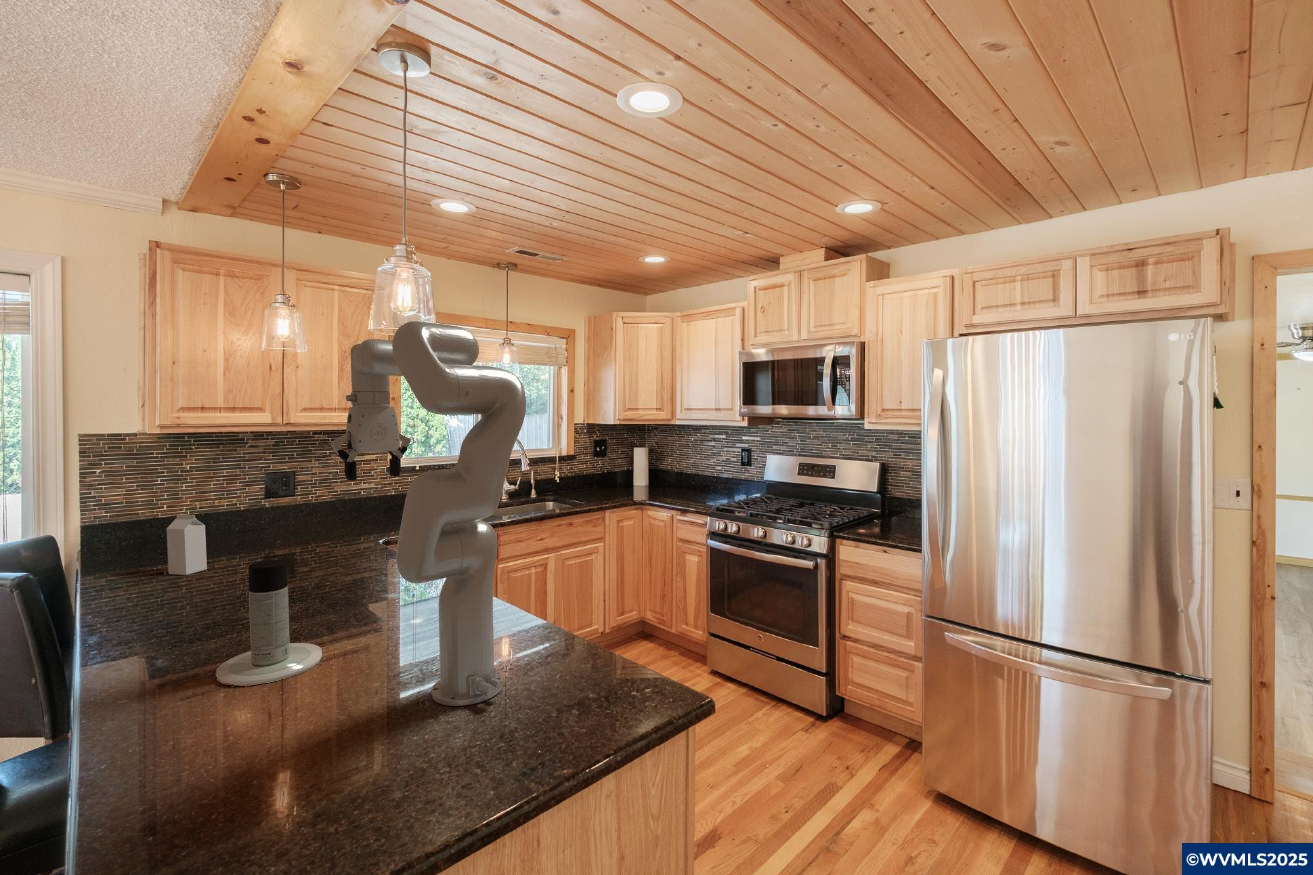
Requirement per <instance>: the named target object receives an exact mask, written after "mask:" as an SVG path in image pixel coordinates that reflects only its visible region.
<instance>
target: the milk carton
mask: <svg viewBox="0 0 1313 875" xmlns="http://www.w3.org/2000/svg"><path fill="white" fill-rule="evenodd" d="M206 538H207V536H206V525H205V524H204V523H203V522H201V521H200V520H198V519H197V518H196V515H195V514H176V518H175V519H174V520H173V521H172V522H171V523H170V525H168V527H167V528H166V543H167V544H166V546H167V547H166V548H167V569H168V574H169V575H178V576H179V575H181V576H187V575H191V574H194V573H198V572H201V571H206V570H207V569H208V566H207V565H208V564H207V563H208V562H207V542H206V541H207V539H206Z"/></svg>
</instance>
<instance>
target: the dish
mask: <svg viewBox="0 0 1313 875" xmlns="http://www.w3.org/2000/svg"><path fill="white" fill-rule="evenodd" d="M321 658H323V650H322V648H321V647H320V646H318V645H317V644H313V643H306V642H295V643H294V642H293V643H292V642H290V654H289V657H288V659H286V660H284V661H282V662H279V663H277V664H273V665H269V666H254V665H252V662H251V650H249V651H247V652H243V653H241V654H238V655H236V656H234V657H231V658H230V659H228V660H226V661H224V662H223V663H221V664H220V665H219V666H218V667H217V669H216V671H215V677H217V679H218V680H219V681H222V682H224V683H229V684H233V685H255V684H260V683H268V684H271V683H270V682H273V683H275V682H274V681H277V682H279V681H278V680H281V679H284V680H287V679H286V678H288V677H291V678H293V677H292V676H294V677H295V675H296V676H298V674H299V675H301V674H303V673H306V672H307V671H309V670H312V669H313V668H314V667H316V666H317V665H319V663H320V662H321V661H322V659H321ZM320 660H321V661H320ZM316 664H317V665H316ZM305 671H306V672H305ZM288 679H289V678H288ZM281 681H282V680H281Z"/></svg>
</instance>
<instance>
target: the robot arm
mask: <svg viewBox="0 0 1313 875" xmlns="http://www.w3.org/2000/svg"><path fill="white" fill-rule="evenodd" d="M393 335H394V336H393V338H392V340H391V339H379V338H369V339H365V340H363V341H362V342H361V343H356V344H354V345H352V346H351V348H350V376H351V392H350V394H346V395H345V400H346V402H350V403H351V404H350V405H351V406H349V408H348V413H347V419H346V429H345V433H344V434H343V435H340V436H339V437H337V438H335V439H334V440H332V441H330V446H331V448H332V450H333V451H334V454H335V455H336V456H338V458H340V460H341V461H342V462H343V464H344V476H345V477H346V480H347V481H356V480H357V479H358V478H357V477H358V476H357V473H358V472H357V462H356V461H354V460H355V459H356V457H357V456H358V455H359V454H360V453H378V452H379V453H380V452H387V453H388V455H389V456H390V458H389V460H388V463H389V464H388V467H389V475H390V476H391V477H400V476H401V468H402V467H401V465H402V464H401V463H402V462H401V459H402V458H403V456H404V455H405V453H406V452H407V451H408V448H409V445H410V444H411V441H412V440H411V438H410V437H408V436H406V435H403V434H402V433H400V431H399V424H398V423H399V422H398V417H397V412H396V408H395V406H391V398H390V397H391V393H390V390H391V389H390V376H391V377H404V380H405V381H406V382H407V385H408V386H409V388H410V390H411V392H412V393H413V395H414V396H415V398H416V400H417V401H418V403H419V404H420V406H421V408H423V409H424V410H426V411H427V412H429V413H431V414H433V415H435V414H436V415H441V416H443V415H444V416H447V415H448V416H451V415H453V416H455V415H457V416H459V415H461V416H462V415H464V416H465V415H481V418H480V419H479V420H478V422H476V423H475V424H474V425H473V426H472V427H471V429H469V431H468V432H467V433H466V436H464V438H463V440H462V441H461V446H460V450H459V456H458V459H457V462H456V463H455V464H456V465H455V466H453V467H452V468H446V469H435V470H430V471H425V472H423V473H420V474H419V475H417V476H416V477H415V478H414V479H413V480H412V482H411V483H410V484H409V487H408V490H407V491H406V492H407V493H406V497H405V501H404V505H403V511H402V517H401V521H400V522H401V523H400V528H399V533H398V537H397V538H398V539H397V544H396V553H395V554H396V555H395V556H396V559H395V560H396V567H397V571H398V573H399V574H400V577H402V579H403V580H404V581H406V582H408V583H411V584H423V583H428V582H429V583H430V582H434V581H438V580H442V579H445V580H444V583H443V585H442V586H441V590H440V593H439V597H438V634H439V636H438V638H439V640H438V641H439V678H440V679H438V680H437V681H436V682H435V683H434V684H433V685H432V687H431V690H430V691H431V698H432V700H433V701H435V702H436V703H438V704H440V705H443V706H453V707H458V706H459V707H461V706H470V705H475V704H478V703H481V702H482V703H483V702H485V701H487V700H489V699H491V698H493V697H495V696H496V695H497V694H498V693H500V692H501V691H502V689H503V686H504V678H503V677H502V675H501V674H500V673H498V672H497V667H496V666H495V654H494V653H495V647H494V645H495V644H494V643H495V642H494V637H495V636H494V574H495V565H496V560H497V554H498V547H499V546H498V545H499V544H498V536H497V533H496V530H495V529H494V528H493V526H492V525H491V524H489V523H488V522H487V521H485V520H484V519H487V518H489V517H491V516H493V515H494V514H495V513H496V511H497V510H498V507H499V504H500V502H501V498H502V493H503V489H504V487H505V486H504V485H505V481H506V479H507V478H506V476H507V474H508V469H509V465H510V461H511V456H512V452H513V449H514V446H515V443H516V441H517V439H518V436H519V434H520V433H521V429H522V427H523V425H524V422H525V421H524V420H525V417H526V411H527V399H526V398H527V397H526V392H525V389H524V386H523V383H522V381H521V379H520V378H519V377H518V376H517V375H516V374H515V373H513V372H511V371H509V370H508V369H504V368H501V367H495V366H489V365H474V364H475V362H476V361H477V359H478V356H479V354H480V347H479V343H478V341H477V340H478V339H477V338H476V337H475V336H474V334H473V333H471V332H470V331H469V330H467V329H465V328H463V327H460V326H456V325H452V324H444V323H443V324H441V323H436V322H425V321H417V320H414V321H413V320H412V321H407V322H405V323H403V324H401V325H400V326H399V327H398V328H397V330H396V331H395V333H394V334H393ZM343 444H345V445H346V449H347V450H343V447H342V445H343Z"/></svg>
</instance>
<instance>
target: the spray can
mask: <svg viewBox="0 0 1313 875" xmlns="http://www.w3.org/2000/svg"><path fill="white" fill-rule="evenodd" d="M288 581H289V580H288V563H287V562H285V560H282V559H266V560H261V561H257V562H253V563H251V564H250V565H249V566H248V606H249V607H248V610H249V611H248V612H249V636H250V637H249V638H250V639H249V640H250V651H251V662H252V665H254V666H269V665H273V664H277V663H279V662H282V661H284V660H286V659H288V657H289V654H290V643H291V642H290V614H289V613H290V612H289V611H290V610H289V582H288Z"/></svg>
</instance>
